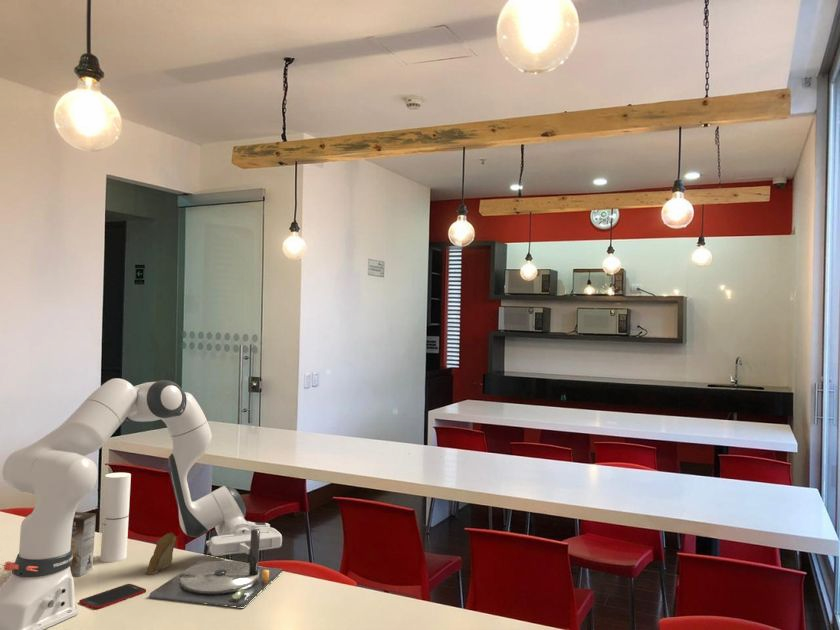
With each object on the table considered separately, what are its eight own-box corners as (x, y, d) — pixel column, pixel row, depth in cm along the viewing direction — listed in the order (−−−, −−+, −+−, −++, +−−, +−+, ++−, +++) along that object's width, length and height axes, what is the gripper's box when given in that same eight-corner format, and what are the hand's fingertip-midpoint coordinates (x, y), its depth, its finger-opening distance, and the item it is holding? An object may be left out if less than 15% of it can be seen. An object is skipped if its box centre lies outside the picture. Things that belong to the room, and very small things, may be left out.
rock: (155, 570, 184) (185, 556, 192) (142, 542, 186) (173, 530, 194) (139, 585, 189) (170, 571, 197) (127, 558, 192) (158, 545, 200)
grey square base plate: (243, 608, 166) (244, 597, 166) (149, 597, 170) (150, 586, 170) (282, 573, 191) (282, 563, 192) (199, 564, 196) (200, 554, 196)
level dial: (183, 598, 167) (186, 544, 167) (176, 570, 186) (179, 522, 186) (266, 588, 176) (268, 537, 176) (251, 562, 195) (253, 516, 195)
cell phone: (77, 604, 165) (77, 600, 165) (129, 586, 178) (129, 583, 178) (95, 611, 161) (96, 607, 161) (147, 593, 174) (147, 589, 174)
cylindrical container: (116, 563, 194) (120, 478, 195) (95, 560, 196) (99, 476, 196) (131, 555, 201) (135, 473, 202) (110, 553, 203) (115, 471, 203)
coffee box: (49, 574, 184) (52, 516, 184) (64, 566, 190) (67, 510, 190) (80, 576, 183) (83, 518, 183) (93, 568, 189) (97, 512, 190)
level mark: (267, 583, 180) (267, 572, 180) (260, 582, 180) (261, 571, 180) (269, 581, 182) (270, 570, 182) (263, 580, 182) (264, 569, 182)
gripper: (204, 530, 190) (216, 544, 178) (273, 522, 200) (288, 535, 188) (203, 552, 189) (215, 567, 178) (272, 543, 200) (287, 557, 188)
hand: (253, 550), depth 183 cm, fingers closed, pressing on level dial
